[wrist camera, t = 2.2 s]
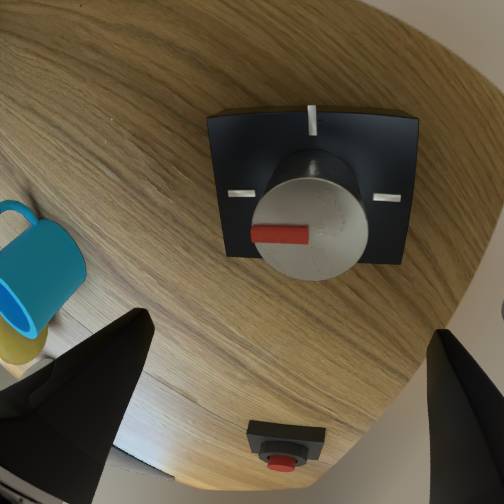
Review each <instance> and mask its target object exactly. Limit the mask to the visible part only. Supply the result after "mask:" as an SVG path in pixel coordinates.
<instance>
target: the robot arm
mask: <svg viewBox="0 0 504 504" xmlns="http://www.w3.org/2000/svg"><path fill="white" fill-rule="evenodd" d="M154 331H155V327H154V324H153V321H152V319H151V317H150V314H149V312H148V310H147V309H144V308H138V307H137V308H134V309H132V310H130V311H129V312H127V313H126V314H124V315H123V316H121V317H120V318H118V319H116V320H115V321H113V322H112V323H110V324H109V325H107V326H106V327H104V328H102V329H101V330H99V331H98V332H96V333H95V334H93V335H92V336H90V337H89V338H87V339H85V340H84V341H82V342H81V343H79V344H78V345H76V346H75V347H73V348H72V349H70V350H69V351H67V352H65V353H64V354H62V355H61V356H59V357H58V358H56V360H53V361H52V362H50V363H49V364H47V365H46V366H44V367H42V368H41V369H39V370H38V371H36V372H34V373H33V374H31V375H29V376H27V377H26V378H24V379H22V380H20V381H18V382H17V383H15V384H13V385H11V386H9V387H7V388H6V389H4V390H2V391H0V504H62V502H63V501H64V502H67V503H69V504H91V503H92V500H93V497H94V495H95V492H96V489H97V486H98V483H99V480H100V477H101V474H102V472H103V469H104V466H105V463H106V461H107V458H108V455H109V452H110V450H111V447H112V445H113V442H114V439H115V437H116V434H117V432H118V429H119V426H120V424H121V421H122V419H123V416H124V414H125V411H126V409H127V406H128V404H129V401H130V399H131V397H132V394H133V392H134V389H135V387H136V385H137V382H138V380H139V377H140V375H141V372H142V370H143V367H144V364H145V361H146V358H147V354H148V351H149V348H150V345H151V342H152V338H153V335H154ZM426 356H427V404H428V417H429V431H430V459H431V460H430V463H431V466H430V469H431V472H430V475H431V476H430V503H429V504H504V397H503V395H502V394H501V393H500V391H499V390H498V389H497V387H496V386H495V385H494V383H493V382H492V381H491V380H490V378H489V377H488V376H487V375H486V373H485V372H484V371H483V370H482V368H481V367H480V366H479V365H478V363H477V362H476V361H475V360H474V359H473V357H472V356H471V355H470V354H469V352H468V351H467V350H466V349H465V348H464V347H463V345H462V344H461V343H460V342H459V341H458V340H457V338H456V337H455V336H454V335H453V334H452V333H451V332H450V330H448V329H437V330H435V332H434V334H433V336H432V338H431V340H430V343H429V345H428V347H427V353H426Z"/></svg>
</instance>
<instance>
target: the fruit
mask: <svg viewBox="0 0 504 504" xmlns="http://www.w3.org/2000/svg"><path fill="white" fill-rule="evenodd" d="M47 334H48V323H47V325H46V326H45V327H44V328H43V329H42V331H41V332H40V333H39V334H38V336H37V337H36V338H35V339H30V338H28V337H26V336H24V335H22V334H21V333H19V332H18V331H17V330H15V329H14V328H13V327H12V326H11V325H10V324H9V323H8V322H7V321H6V320H5V319H4V318H3V317H2V316H1V314H0V358H1V359H2V360H3V361H5V362H7V363H9V364H14V365H22V364H25V363H28V362H29V361H31V360H33V359H34V358H35V357H36V356H37V355H38V354H39V353H40V352H41V351H42V349H43V347H44V345H45V342H46V339H47Z"/></svg>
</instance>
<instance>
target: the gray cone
mask: <svg viewBox="0 0 504 504" xmlns="http://www.w3.org/2000/svg"><path fill="white" fill-rule="evenodd" d="M105 464H107V465H110V466H113V467H117V468H120V469H124V470H127V471H131V472H135V473H138V474H142V475H146V476H151V477H155V478H160V479H164V480H170V481H174V480H175V478H174V477H172V476H170V475H168V474H166V473H164V472H162V471H159V470H157V469H155V468H153V467H151V466H149V465H147V464H145V463H143V462H141V461H139V460H137V459H135V458H134V457H132V456H130V455H128V454H126V453H124V452H123V451H121V450H119V449H117V448H116V447H114V446H112V447H111V450H110V452H109V455H108V458H107V461H106V463H105Z"/></svg>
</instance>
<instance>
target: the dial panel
mask: <svg viewBox="0 0 504 504" xmlns="http://www.w3.org/2000/svg"><path fill="white" fill-rule="evenodd" d="M206 119H207V127H208V134H209V142H210V149H211V156H212V164H213V171H214V178H215V184H216V191H217V198H218V205H219V211H220V218H221V224H222V231H223V237H224V244H225V250H226V256H227V257H245V258H263V257H262V256H261V255H260V253H259V252H258V250H257V248H256V245H255V243H254V242H252V239H251V228H252V218H253V215H254V211H255V209H256V207H257V205H258V203H259V201H260V199H261V197H262V195H263V193H264V191H265V189H266V187H267V185H268V183H269V181H270V179H271V177H272V175H273V173H274V171H275V169H276V168H277V166H278V165H279V164H280V163H281V162H282V161H283V160H284V159H286V158H287V157H289V156H290V155H293V154H295V153H297V152H301V151H306V150H320V151H325V152H328V153H331V154H333V155H335V156H337V157H339V158H340V159H342V160H343V161H344V162H345V163H346V164H347V165H348V166H349V167H350V168H351V170H352V171H353V173H354V174H355V177H356V179H357V182H358V185H359V189H360V193H361V196H362V200H363V204H364V208H365V212H366V216H367V220H368V227H369V236H368V242H367V245H366V248H365V250H364V252H363V254H362V256H361V257H360V259H359V260H358V261H357V262H356V263H371V264H394V265H401V261H402V257H403V252H404V247H405V241H406V236H407V230H408V224H409V218H410V212H411V205H412V198H413V190H414V182H415V172H416V162H417V150H418V134H419V119H418V118H417V117H415V116H413V115H411V114H409V113H407V112H405V111H402V110H392V109H381V108H368V107H351V106H316V105H308V106H268V107H251V108H237V109H226V110H223V111H220V112H218V113H216V114H213V115H211V116H208V117H207V118H206Z"/></svg>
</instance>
